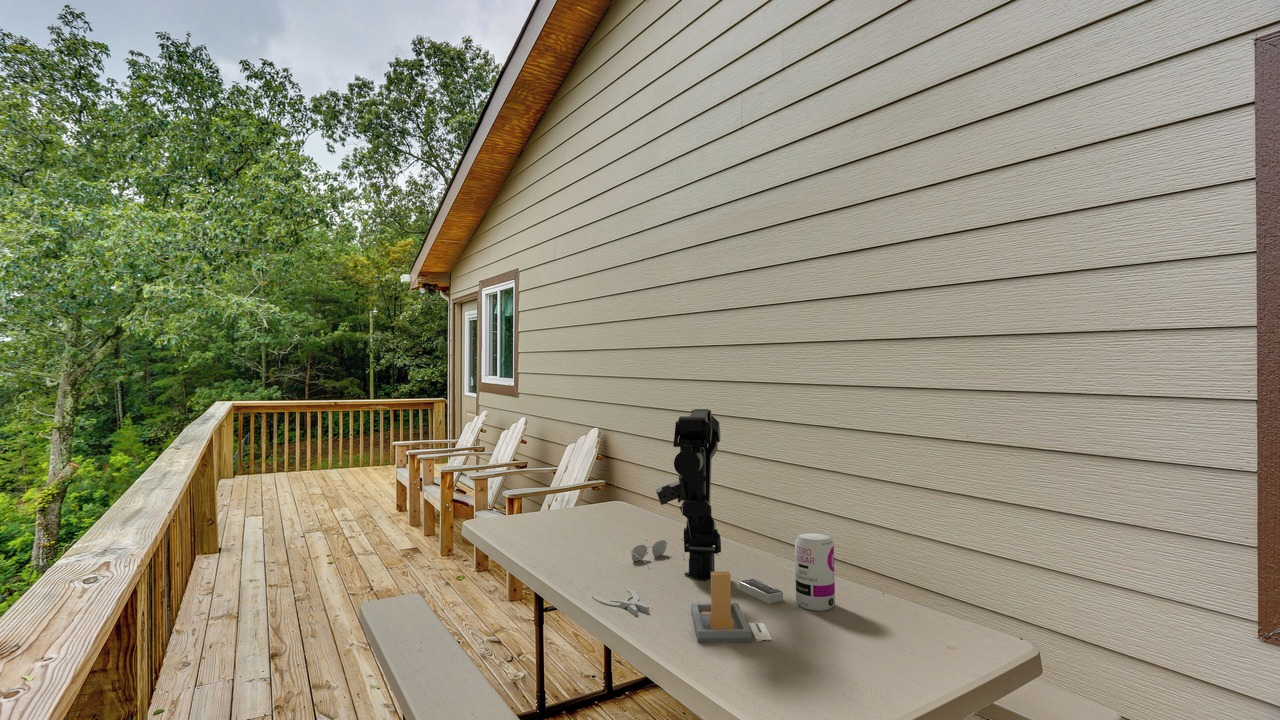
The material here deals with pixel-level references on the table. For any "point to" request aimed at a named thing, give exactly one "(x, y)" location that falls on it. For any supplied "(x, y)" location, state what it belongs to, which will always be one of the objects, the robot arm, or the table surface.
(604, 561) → the table surface
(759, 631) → the switch housing
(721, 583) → the orange tall block
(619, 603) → the pliers
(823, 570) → the supplement can
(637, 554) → the sunglasses
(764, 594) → the multiport hub
